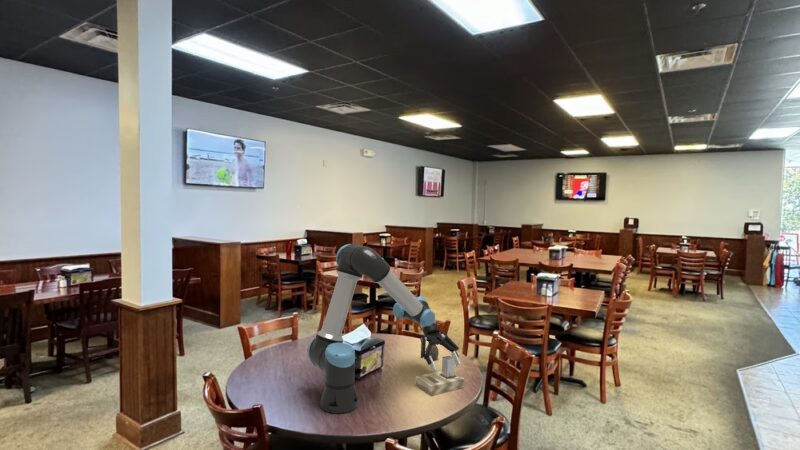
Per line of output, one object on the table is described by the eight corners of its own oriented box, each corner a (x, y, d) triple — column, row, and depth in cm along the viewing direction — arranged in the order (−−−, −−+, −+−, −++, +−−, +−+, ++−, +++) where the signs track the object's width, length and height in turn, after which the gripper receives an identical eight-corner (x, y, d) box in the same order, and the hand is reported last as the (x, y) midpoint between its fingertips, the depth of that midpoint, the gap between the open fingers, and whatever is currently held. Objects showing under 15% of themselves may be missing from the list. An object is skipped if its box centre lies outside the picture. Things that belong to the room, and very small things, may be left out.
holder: (430, 395, 180) (431, 386, 180) (415, 385, 191) (415, 376, 190) (464, 387, 190) (464, 378, 189) (447, 377, 200) (448, 369, 200)
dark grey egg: (427, 361, 219) (428, 345, 218) (423, 356, 226) (423, 340, 225) (440, 360, 221) (440, 344, 220) (435, 356, 227) (436, 339, 227)
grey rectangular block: (446, 386, 190) (447, 359, 189) (441, 383, 193) (442, 357, 192) (454, 384, 192) (454, 358, 191) (448, 381, 195) (449, 355, 195)
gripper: (410, 325, 196) (427, 369, 184) (453, 319, 209) (472, 359, 197) (403, 333, 201) (420, 376, 189) (446, 327, 214) (464, 366, 201)
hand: (446, 368), depth 193 cm, fingers open, 13 cm apart
